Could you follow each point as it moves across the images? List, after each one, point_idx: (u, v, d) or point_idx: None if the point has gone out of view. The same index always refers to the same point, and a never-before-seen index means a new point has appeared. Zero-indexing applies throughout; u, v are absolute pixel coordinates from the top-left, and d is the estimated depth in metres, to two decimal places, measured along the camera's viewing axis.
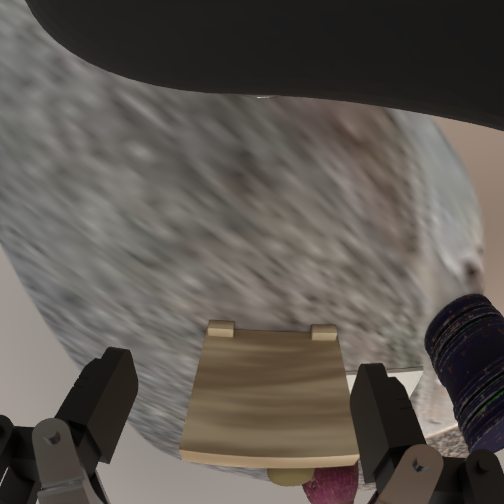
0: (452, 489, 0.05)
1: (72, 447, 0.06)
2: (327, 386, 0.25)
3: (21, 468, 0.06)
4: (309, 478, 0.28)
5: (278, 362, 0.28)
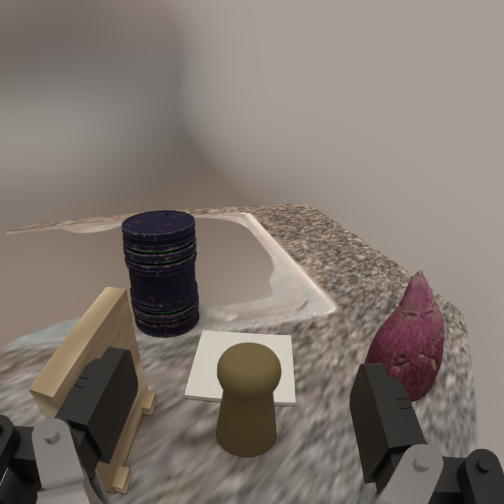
0: (452, 489, 0.05)
1: (72, 447, 0.06)
2: None
3: (21, 468, 0.06)
4: (245, 342, 0.26)
5: None
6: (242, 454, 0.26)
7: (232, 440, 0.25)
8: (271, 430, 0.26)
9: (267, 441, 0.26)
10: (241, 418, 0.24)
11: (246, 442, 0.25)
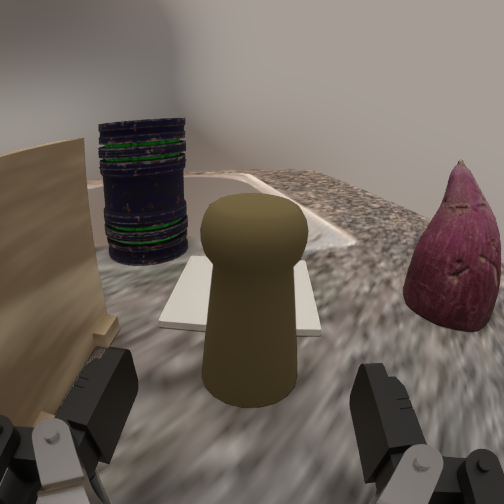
0: (452, 489, 0.05)
1: (72, 447, 0.06)
2: None
3: (21, 468, 0.06)
4: None
5: None
6: (243, 401, 0.17)
7: (225, 373, 0.16)
8: (290, 356, 0.17)
9: (285, 377, 0.17)
10: (242, 320, 0.15)
11: (250, 376, 0.16)
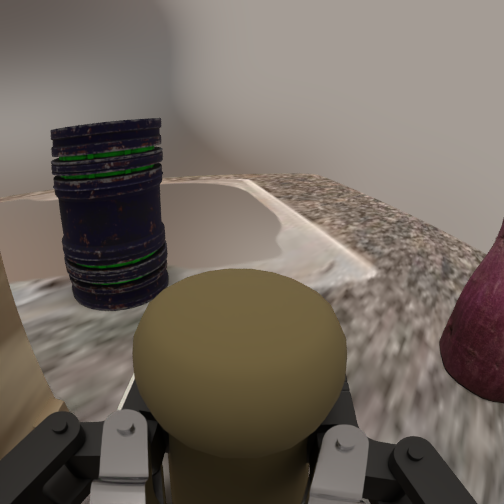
0: (380, 475, 0.06)
1: (145, 444, 0.06)
2: None
3: (77, 468, 0.06)
4: None
5: None
6: None
7: None
8: None
9: None
10: (220, 493, 0.07)
11: None
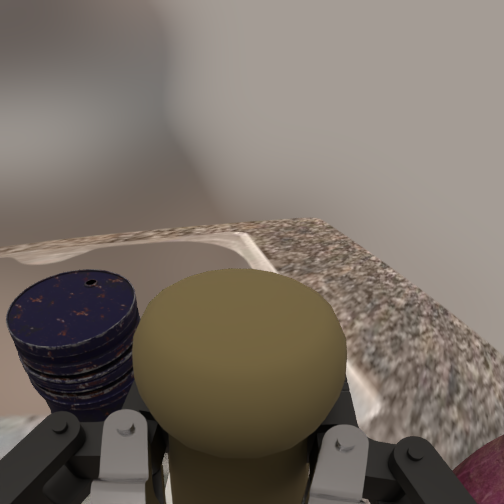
0: (380, 475, 0.06)
1: (145, 444, 0.06)
2: None
3: (78, 468, 0.06)
4: None
5: None
6: None
7: None
8: None
9: None
10: (219, 494, 0.07)
11: None
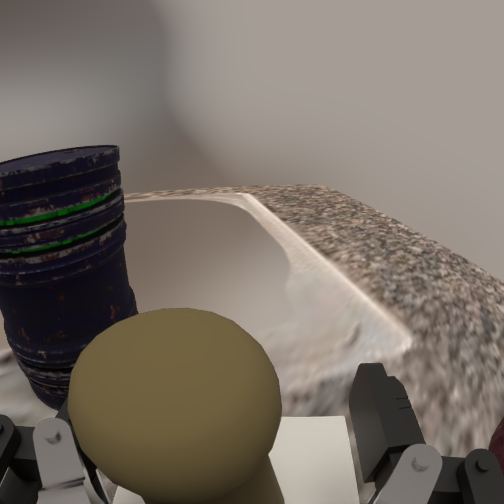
0: (451, 489, 0.05)
1: (73, 447, 0.06)
2: None
3: (22, 468, 0.06)
4: (163, 309, 0.08)
5: None
6: None
7: None
8: None
9: None
10: None
11: None
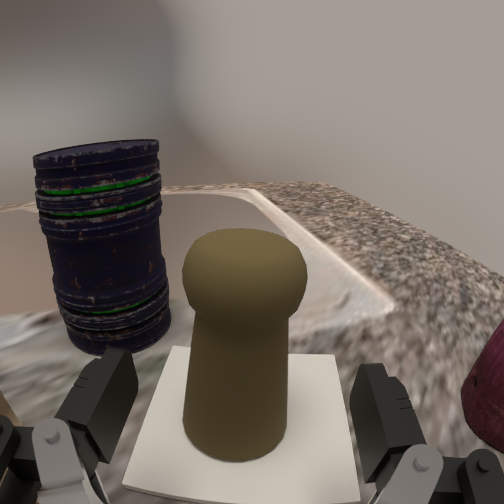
0: (452, 489, 0.05)
1: (72, 447, 0.06)
2: None
3: (21, 468, 0.06)
4: None
5: None
6: (225, 454, 0.14)
7: (207, 425, 0.14)
8: (280, 410, 0.15)
9: (272, 431, 0.14)
10: (225, 374, 0.13)
11: (234, 431, 0.14)
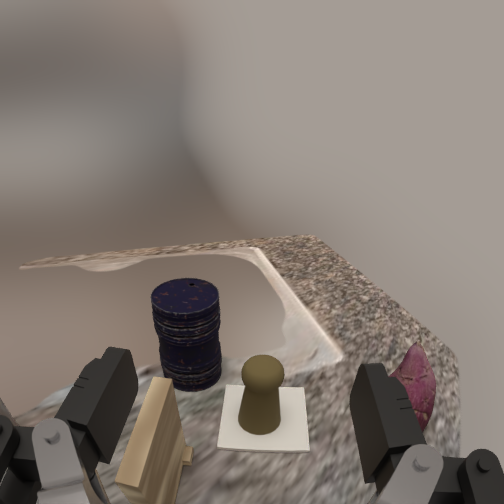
0: (452, 489, 0.05)
1: (72, 447, 0.06)
2: None
3: (21, 468, 0.06)
4: (260, 355, 0.39)
5: None
6: (257, 432, 0.38)
7: (250, 422, 0.38)
8: (277, 415, 0.39)
9: (274, 423, 0.39)
10: (257, 405, 0.37)
11: (260, 423, 0.38)
